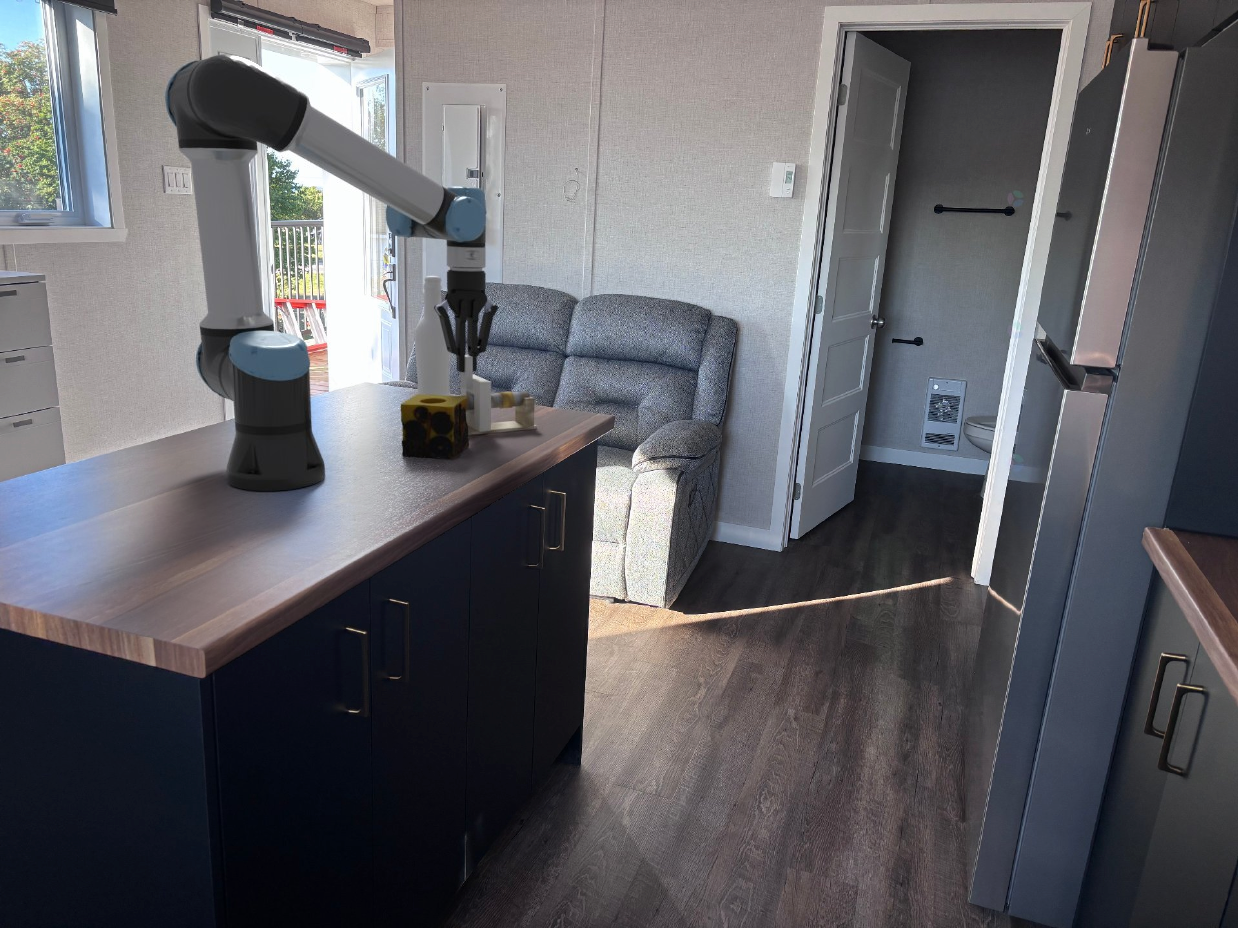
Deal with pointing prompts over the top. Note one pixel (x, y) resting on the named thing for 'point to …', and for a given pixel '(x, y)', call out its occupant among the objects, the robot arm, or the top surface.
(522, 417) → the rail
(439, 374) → the bottle
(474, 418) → the upright white plank
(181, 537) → the top surface
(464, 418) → the yellow cube with hole
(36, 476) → the top surface
